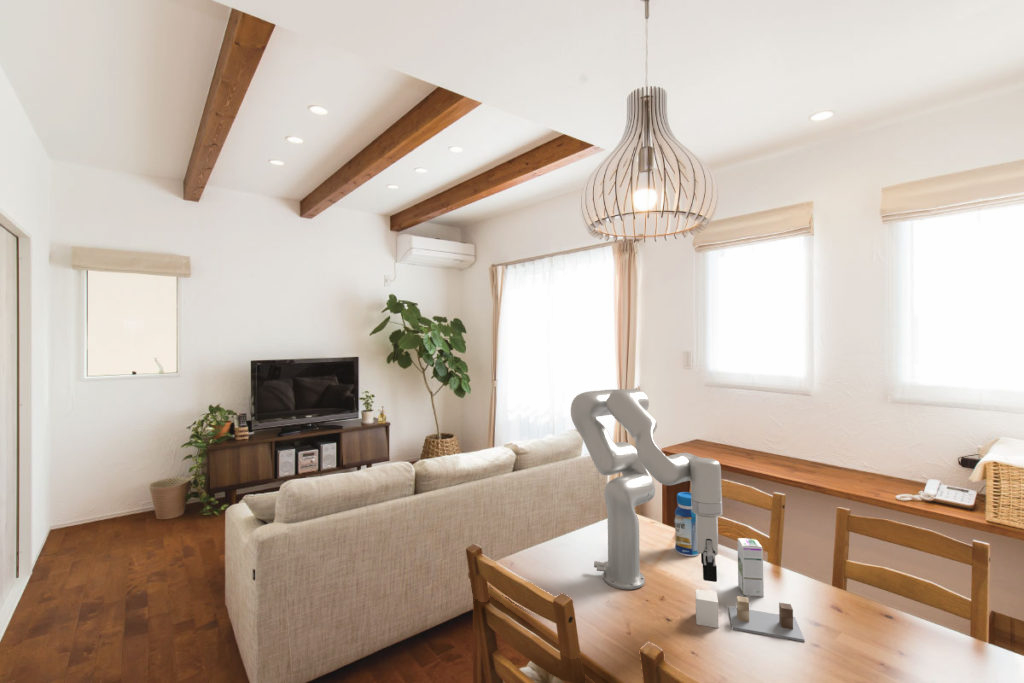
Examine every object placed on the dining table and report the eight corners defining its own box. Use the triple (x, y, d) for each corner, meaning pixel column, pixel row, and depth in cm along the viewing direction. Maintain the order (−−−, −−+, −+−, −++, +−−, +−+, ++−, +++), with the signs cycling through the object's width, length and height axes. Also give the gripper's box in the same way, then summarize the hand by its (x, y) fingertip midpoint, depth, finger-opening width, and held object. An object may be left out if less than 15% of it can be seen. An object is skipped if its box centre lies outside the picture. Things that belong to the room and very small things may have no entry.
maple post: (738, 620, 124) (738, 601, 124) (737, 614, 126) (736, 596, 126) (749, 622, 123) (749, 602, 123) (747, 616, 126) (747, 597, 126)
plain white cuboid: (696, 624, 123) (696, 598, 123) (695, 613, 128) (695, 589, 128) (718, 628, 122) (718, 602, 122) (716, 617, 126) (716, 592, 127)
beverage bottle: (704, 557, 162) (703, 498, 162) (679, 557, 162) (679, 498, 162) (695, 546, 170) (694, 490, 170) (671, 546, 170) (671, 491, 170)
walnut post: (781, 627, 121) (781, 607, 121) (779, 621, 123) (779, 602, 123) (793, 629, 120) (792, 609, 120) (790, 623, 122) (790, 604, 122)
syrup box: (764, 597, 136) (764, 546, 136) (742, 595, 137) (742, 545, 137) (758, 587, 142) (758, 538, 142) (737, 585, 143) (736, 537, 143)
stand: (732, 629, 121) (732, 626, 121) (728, 608, 130) (728, 606, 130) (804, 641, 116) (804, 639, 116) (794, 619, 125) (794, 617, 125)
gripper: (690, 495, 134) (692, 556, 134) (692, 516, 118) (694, 585, 117) (719, 497, 132) (721, 560, 131) (725, 518, 115) (727, 590, 115)
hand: (708, 572), depth 124 cm, fingers open, 9 cm apart
